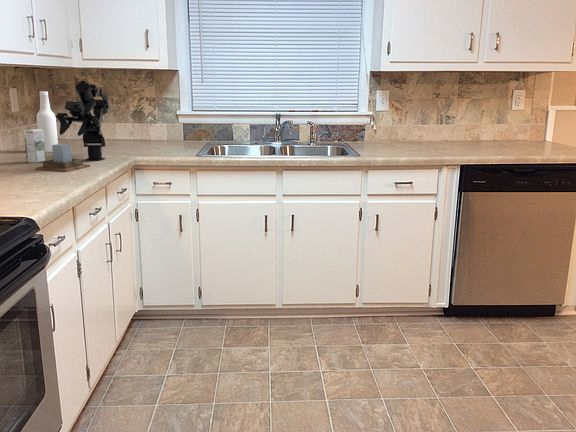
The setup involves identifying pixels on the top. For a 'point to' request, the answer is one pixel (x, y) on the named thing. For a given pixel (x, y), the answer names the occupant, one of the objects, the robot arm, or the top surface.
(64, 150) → the block
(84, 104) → the robot arm
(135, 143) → the top surface
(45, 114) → the alcohol
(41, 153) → the syrup box
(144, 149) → the top surface
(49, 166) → the cradle
